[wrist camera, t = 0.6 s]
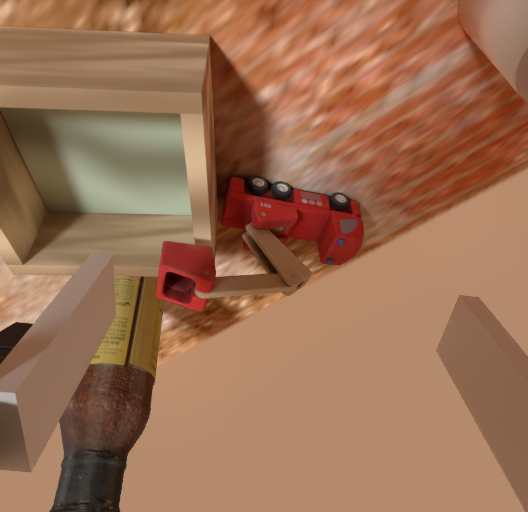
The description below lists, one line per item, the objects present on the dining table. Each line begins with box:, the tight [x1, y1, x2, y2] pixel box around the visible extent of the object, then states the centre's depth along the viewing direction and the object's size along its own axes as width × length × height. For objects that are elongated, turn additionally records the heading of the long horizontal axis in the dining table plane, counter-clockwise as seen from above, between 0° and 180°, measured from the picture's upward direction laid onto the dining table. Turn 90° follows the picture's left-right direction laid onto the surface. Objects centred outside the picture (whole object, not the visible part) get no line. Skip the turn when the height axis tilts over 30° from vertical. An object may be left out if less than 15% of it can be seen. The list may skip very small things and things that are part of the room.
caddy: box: [0, 26, 218, 277], centre depth 24 cm, size 13×13×6 cm
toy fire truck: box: [156, 176, 364, 311], centre depth 27 cm, size 3×14×10 cm, turn 75°
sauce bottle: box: [50, 276, 164, 512], centre depth 29 cm, size 6×6×20 cm
